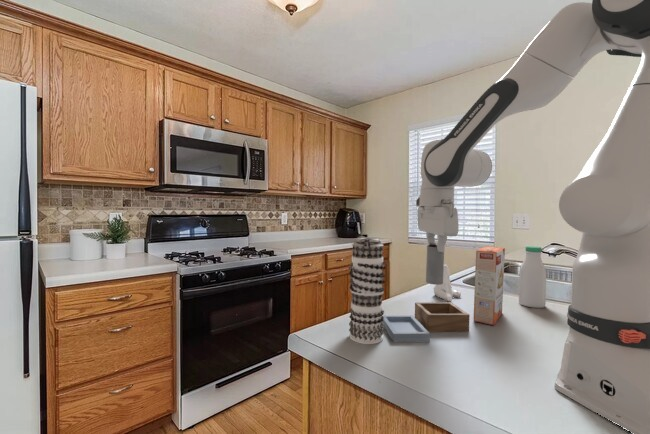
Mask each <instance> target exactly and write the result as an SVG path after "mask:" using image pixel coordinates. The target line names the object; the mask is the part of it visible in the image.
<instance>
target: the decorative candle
mask: <svg viewBox="0 0 650 434" xmlns="http://www.w3.org/2000/svg"><path fill="white" fill-rule="evenodd" d="M351 245H352V250H351V251H352V256H351V262H352V263H351V264H349V266H348V269H349V270H350V271H349V273H348V275H349V276H350V277H351V278H350V279H349V283H350V285H349V291H350V293H352V294H351V302H350V309H349V312H350V315H349V318H350V321H349V323H348V325H349V328H348V331H349V333H350V334H349V338H350V340H351V341H353V342H355V343H358V344H362V345H376V344H379V343H381V342H382V341H383V339H384V332H385V331H384V329H385V328H384V324H383V323H382V321H383V319H384V317H383V316H384V314H385V310H384V309H383V308H384V307H383V306H384V305H383V304H384V303H383V294H384V293H385V292H384V291H385V287H383V285H384V284H385V283H386V280H385V279H383V278H385V277H386V274H385V273H384V272H383V271H384V270H385V269H387V266H386V265H385V263H386V260H384V255H383V254H384V250H383V249H384V246H385V245H384V244H383V243H382V242H381V240H380V239H379V238H377V237H357V238H356V239H355V240H354V241H353V243H351Z"/></svg>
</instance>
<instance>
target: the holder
mask: <svg viewBox="0 0 650 434" xmlns="http://www.w3.org/2000/svg"><path fill="white" fill-rule="evenodd" d="M414 317H415V318H416V319H417V320H418V322H419V323H420V324H421V325H422V326H423V327H424V328H425V329H426V330H427V331H428V332H429V333H434V332H437V333H441V332H443V333H444V332H448V333H449V332H457V333H458V332H463V333H464V332H470V314H469V313H467V312H466V311H465V310H463V309H462V308H460V307H459V306H457V305H456V304H454V303H453V302H451V301H446V302H443V301H442V302H441V301H439V302H438V301H437V302H436V301H435V302H433V301H431V302H424V301H423V302H415V303H414Z"/></svg>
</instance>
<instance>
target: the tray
mask: <svg viewBox="0 0 650 434" xmlns="http://www.w3.org/2000/svg"><path fill="white" fill-rule="evenodd" d="M382 316H383V317H384V319H383V321H382V323H383V324H384V326H383V327H384V328H383V329H385V331H386V332H387V334H388V336H389V338H390V339H391V340H392V342H394V343H397V342H399V343H401V342H402V343H404V342H405V343H407V342H408V343H409V342H411V343H414V342H416V343H417V342H419V343H420V342H430V341H431V332H428V331H427V330H426V329H425V328H424V327H423V326H422V324H421V323H420V322H419V321H418V320H417V319H416V318H415V315H413V314H411V315H406V314H405V315H382Z"/></svg>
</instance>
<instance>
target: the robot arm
mask: <svg viewBox="0 0 650 434" xmlns="http://www.w3.org/2000/svg"><path fill="white" fill-rule="evenodd" d="M604 51H605V52H606V53H607V54H608V55H610V56H619V57H620V56H622V57H623V56H625V57H633V58H634V57H636V58H641V59H640V63H639V65H638V68H637V71H636V73H635V74H634V77H633V79H632V81H631V83H630V85H629V87H628V89H627V92H626V93H625V95H624V97H623V99H622V102H621V104H620V106H619V108H618V110H617V111H616V114H615V116H614V117H613V120H612V122H611V124H610V125H609V128H608V129H607V131H606V133H605V135H604V137H603V138H602V140H601V142H599V144H598V146H597V147H596V148H595V150H594V151H593V152H592V154H591V155H590V156H589V158H588V159H587V161H586V162H585V164H584V165H583V167H582V168H581V170H580V172H579V173H578V174H577V176H576V177H575V178H574V180H573V181H571V182H570V183H569V184H568V185H567V186H566V187H565V188H564V190H563V191H562V193H561V195H560V197H559V201H558V209H559V210H558V211H559V213H560V215H561V217H562V219H563V220H564V221H565V223H566V224H568V225H569V226H570V227H571V228H573V229H575V231H577V232H580V233H582V235H581V236H582V237H581V239H580V243H579V248H578V251H577V255H576V257H575V259H574V261H573V264H572V267H571V268H572V272H571V273H572V274H571V275H572V276H571V295H570V296H571V299H570V305H568V309H567V312H566V317H567V325H568V326H569V331H568V334H567V337H566V340H565V343H564V347H563V352H562V358H561V363H560V364H561V365H560V368H559V371H558V374H557V379H556V380H555V383H554V389H555V390H556V391H558V392H559V393H562V394H563V395H565V396H566V397H568V398H569V399H572V400H573V401H575V402H576V403H578V404H580V405H581V406H583V407H585V408H587V409H588V410H590V411H592V412H594V413H595V412H596V413H595V414H597V413H598V414H597V415H599V416H600V415H601V416H600V417H602V416H603V417H602V418H604V417H605V418H607V419H609V420H611V421H613V422H615V423H617V424H619V425H620V426H622V427H624V428H626V429H627V430H629V431H630V432H632V433H634V434H650V0H592V2H587V1H586V2H585V1H583V2H578V1H577V2H573V3H570V4H568V5H565V6H564V7H562V8H561V9H560V10H559V11H558V12H557V13H556V14H555V15H554V16H553V17H552V18H551V19H550V20H549V21H548V22H547V24H545V26H544V27H543V28H542V29H541V30H540V31H539V33H538V34H536V36H535V37H534V38H533V40H532V41H531V42H530V43H529V44H528V46H527V47H526V49H525V50H524V52H522V54H521V55H520V57H519V58H518V59H517V60H516V61H515V62H514V64H513V65H512V67H510V69H509V70H508V71H507V72H506V73H505V74H504V75H503V76H502V77H501V78H500V79H498V80H497V81H496V82H494V83H493V84H492V85H490V86H489V87H488V88H487V89H485V91H484V92H483V93H482V94H481V95H480V96H479V98H478V99H477V100H476V101H475V102H474V103H473V105H472V106H471V107H470V109H468V110H467V112H466V113H465V114H464V115H463V117H462V118H461V119H460V120H459V121H458V122H457V124H456V125H455V126H454V127H453V128H452V129H451V131H450V132H449V133H448V134H447V135H446V136H445V137H444V138H441V139H435V140H432V141H429V142H428V143H426V144H424V145H425V146H424V147H423V148H422V149H423V150H422V153H421V158H420V159H421V160H420V176H421V185H420V192H419V193H420V194H419V195H418V197H417V198H416V200H415V206H416V207H417V211H416V213H417V216H416V217H417V227H418V231H420V232H424V233H425V234H426V236H425V237H426V240H427V246H428V245H436V251H438V252H444V253H445V246H446V243H447V241H448V237H457V236H458V233H459V214H458V209H457V207H456V206H455V187H460V188H461V187H466V188H467V187H468V188H472V187H477V186H480V185H483V184H484V183H485V182H487V181H488V179H489V178H490V176H491V174H492V170H493V162H492V160H491V157H490V155H489V154H487V152H485V151H483V150H479V149H477V148H475V147H476V146H477V145H478V144H479V143H480V142H481V140H482V139H483V138H484V137H485V136H487V134H488V133H489V132H490V130H492V128H494V126H496V125H497V124H498V123H499V122H500V121H502V120H504V119H505V118H507V117H510V116H512V115H516V114H518V113H523V112H528V111H533V110H537V109H540V108H543V107H546V106H547V105H549V104H550V103H551V102H552V101H554V100H555V99H556V98H557V97H558V96H559V95H561V94H562V92H563V91H564V90H565V89H566V88H567V87H568V85H570V83H571V82H573V80H574V79H575V77H576V76H577V75H578V74H579V72H581V70H582V69H583V67H585V65H586V64H588V62H590V60H592V58H593V57H595V56H597V55H598V54H600V53H602V52H604ZM435 237H436V238H437V242H436V239H435ZM605 418H604V419H605ZM607 419H606V420H607ZM609 420H608V421H609Z"/></svg>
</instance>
